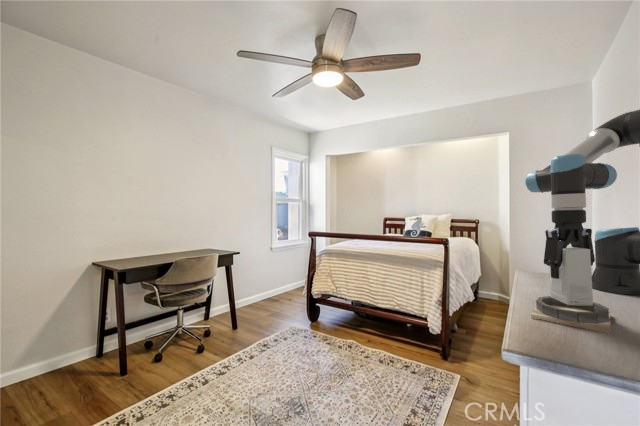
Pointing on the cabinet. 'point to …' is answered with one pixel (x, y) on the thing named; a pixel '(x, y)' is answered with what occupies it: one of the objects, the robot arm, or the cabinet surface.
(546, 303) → the collar
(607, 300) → the cabinet surface
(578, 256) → the skincare box
